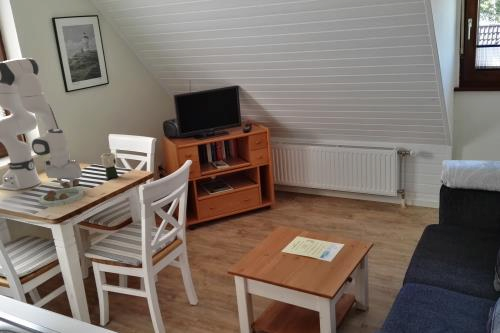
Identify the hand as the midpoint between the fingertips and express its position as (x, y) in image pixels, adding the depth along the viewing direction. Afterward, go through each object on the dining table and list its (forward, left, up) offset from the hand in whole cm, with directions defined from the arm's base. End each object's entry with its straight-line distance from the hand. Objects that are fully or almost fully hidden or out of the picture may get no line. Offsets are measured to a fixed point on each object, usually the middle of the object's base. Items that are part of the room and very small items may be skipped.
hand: (66, 185), depth 269 cm
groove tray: (+8, -14, -2) cm, 17 cm away
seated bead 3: (+13, -18, -1) cm, 22 cm away
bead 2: (+1, +5, -2) cm, 6 cm away
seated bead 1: (+2, -14, -1) cm, 15 cm away
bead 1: (0, 0, -2) cm, 2 cm away
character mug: (+14, +20, -2) cm, 24 cm away
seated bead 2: (+6, -20, -1) cm, 21 cm away
